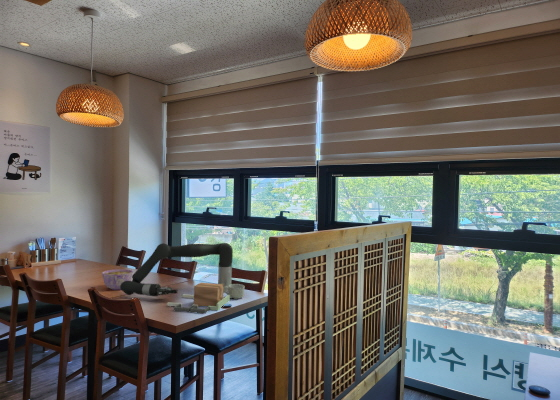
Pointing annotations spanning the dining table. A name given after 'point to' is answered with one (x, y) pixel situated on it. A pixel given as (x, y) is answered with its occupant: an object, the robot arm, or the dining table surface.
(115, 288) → the bowl of food
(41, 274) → the dining table surface
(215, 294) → the block
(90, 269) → the dining table surface
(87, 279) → the dining table surface
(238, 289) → the teacup
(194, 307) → the lane
